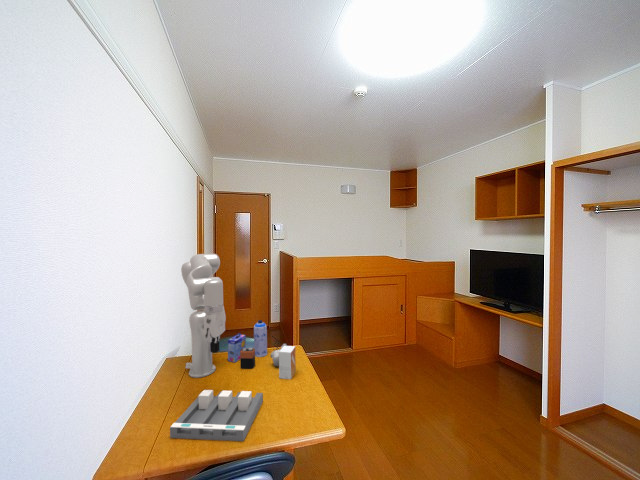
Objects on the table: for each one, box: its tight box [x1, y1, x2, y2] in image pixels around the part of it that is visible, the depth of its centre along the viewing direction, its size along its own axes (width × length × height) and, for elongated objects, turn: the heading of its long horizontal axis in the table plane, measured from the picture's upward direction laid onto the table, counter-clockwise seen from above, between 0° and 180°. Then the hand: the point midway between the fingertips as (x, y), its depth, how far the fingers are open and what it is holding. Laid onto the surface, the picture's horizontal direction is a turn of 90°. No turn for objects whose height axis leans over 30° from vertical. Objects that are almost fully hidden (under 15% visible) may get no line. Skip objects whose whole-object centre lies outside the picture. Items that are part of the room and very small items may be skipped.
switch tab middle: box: [218, 389, 233, 410], centre depth 105 cm, size 4×4×5 cm
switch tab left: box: [198, 389, 214, 409], centre depth 106 cm, size 4×4×5 cm
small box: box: [278, 345, 297, 380], centre depth 133 cm, size 8×6×13 cm
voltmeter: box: [270, 335, 288, 367], centre depth 149 cm, size 27×11×10 cm, turn 32°
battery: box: [239, 347, 256, 370], centre depth 142 cm, size 4×7×10 cm, turn 87°
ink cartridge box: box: [227, 332, 247, 363], centre depth 152 cm, size 10×6×14 cm, turn 160°
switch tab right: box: [238, 390, 253, 411], centre depth 105 cm, size 4×4×5 cm
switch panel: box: [169, 391, 264, 442], centre depth 101 cm, size 26×22×4 cm
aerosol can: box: [253, 319, 268, 358], centre depth 157 cm, size 8×8×20 cm
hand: (215, 351), depth 114 cm, fingers closed
